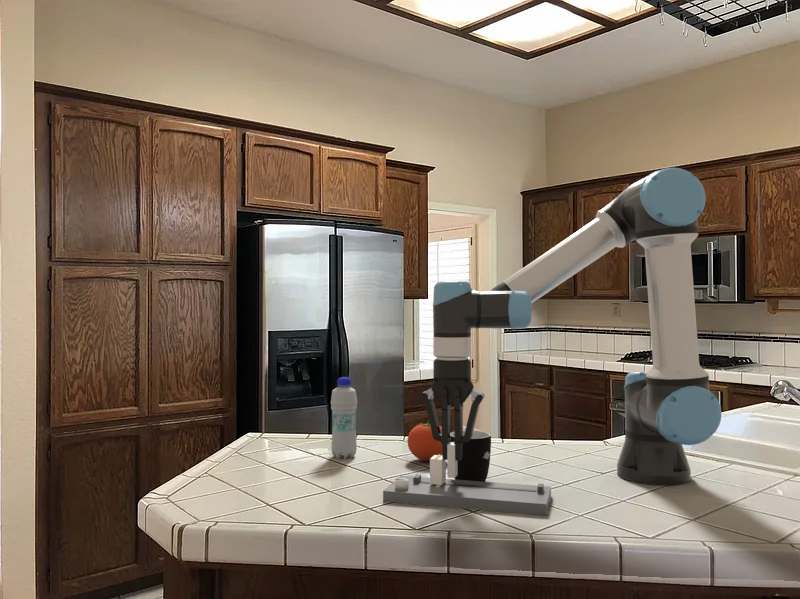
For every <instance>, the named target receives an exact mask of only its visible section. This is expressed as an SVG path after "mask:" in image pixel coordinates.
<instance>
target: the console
mask: <svg viewBox="0 0 800 599" xmlns="http://www.w3.org/2000/svg"><path fill="white" fill-rule="evenodd" d="M551 499H552V486H547V485H545V484H544V483H538V484H537V485H532V484H518V483H506V482H504V483H503V482H493V481H485V482H481V481H467V480H455V479H454V478H446V481H445V482H444V483H443V484H442V485H436V484H430V477H425V476H424V477H423V476H422V474H415V475H414V476H413V475H412V476H411V475H400V476H398V477H397V478H395V479H394V481H393V482H392V483H391V484H389V485H388V486H387V487H386V488H384V489H383V490H382V501H383V502H389V503H397V504H398V503H399V504H409V505H410V504H411V505H412V504H413V505H420V506H422V505H423V506H435V507H445V508H459V509H468V510H469V509H470V510H481V511H482V510H483V511H493V512H505V513H516V514H526V515H528V514H529V515H539V516H547V515H548V512H549V506H550V502H551Z"/></svg>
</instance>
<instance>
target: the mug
mask: <svg viewBox="0 0 800 599" xmlns="http://www.w3.org/2000/svg"><path fill="white" fill-rule="evenodd" d="M464 434H465V430H463V435H464ZM450 438H451V440H450V442H455V431H452V432H450ZM491 451H492V435H491V434H490V433H489V432H487V431H481V430H473V434H472V438H471V439H470V440H469V441H468V442H465V443H463V445H462V459H461V460H460V461H458V460H457V470H458V475H457V476H456V477H455V478H453V479H454V480H467V481H481V482H487V481H486V480H487V478H488V474H489V470H490V464H491Z"/></svg>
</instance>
